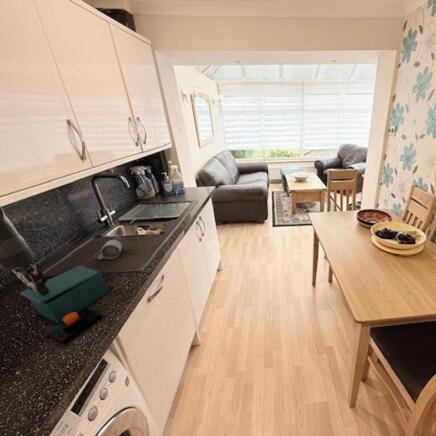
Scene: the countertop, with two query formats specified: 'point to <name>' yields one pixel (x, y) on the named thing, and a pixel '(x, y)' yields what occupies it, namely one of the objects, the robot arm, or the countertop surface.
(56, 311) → the bin
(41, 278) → the robot arm
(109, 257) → the ceramic mug
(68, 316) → the button
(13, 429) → the countertop surface
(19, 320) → the countertop surface
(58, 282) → the bin lid
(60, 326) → the panel
